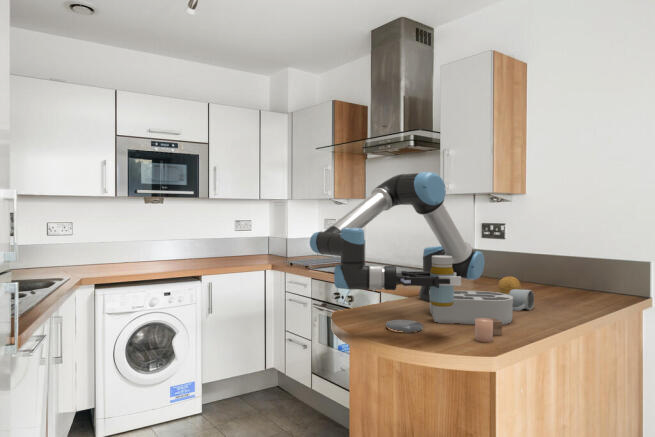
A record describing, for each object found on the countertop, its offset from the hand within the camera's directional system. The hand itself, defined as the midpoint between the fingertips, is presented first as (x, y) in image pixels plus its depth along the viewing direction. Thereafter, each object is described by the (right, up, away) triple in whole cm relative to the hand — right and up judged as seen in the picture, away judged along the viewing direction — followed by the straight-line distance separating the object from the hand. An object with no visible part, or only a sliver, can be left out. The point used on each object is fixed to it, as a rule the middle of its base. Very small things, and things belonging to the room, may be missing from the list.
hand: (458, 279), depth 133 cm
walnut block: (+11, -18, +3) cm, 21 cm away
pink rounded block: (+7, -18, -3) cm, 19 cm away
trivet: (-15, -17, +9) cm, 25 cm away
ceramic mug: (+36, -17, +37) cm, 55 cm away
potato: (+41, -17, +60) cm, 75 cm away
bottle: (-5, -8, +1) cm, 10 cm away
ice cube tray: (+11, -18, +22) cm, 30 cm away
